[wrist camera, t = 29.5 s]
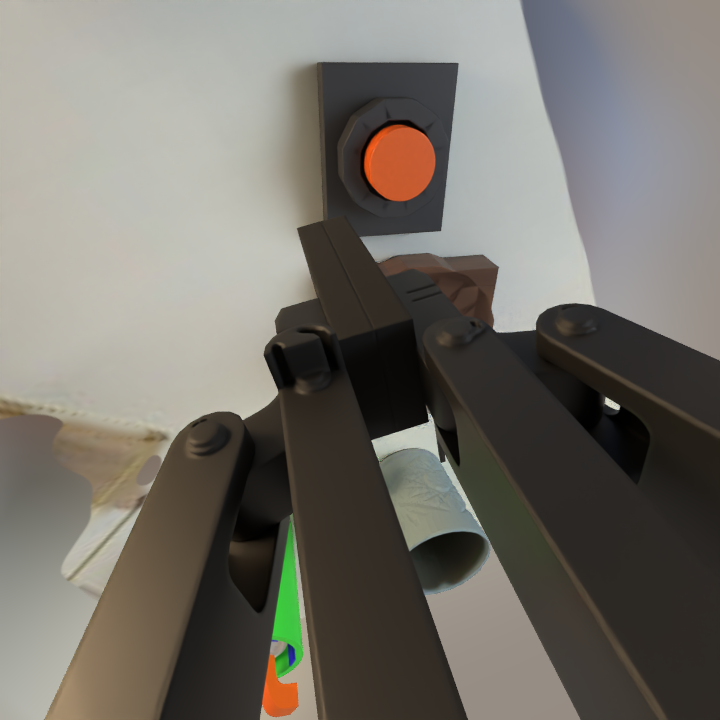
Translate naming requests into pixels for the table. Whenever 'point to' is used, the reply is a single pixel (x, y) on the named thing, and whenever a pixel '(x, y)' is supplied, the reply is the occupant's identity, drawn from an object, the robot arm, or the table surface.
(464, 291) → the bulb stand
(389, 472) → the grey embossed cup
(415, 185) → the test button
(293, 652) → the green-shelled ribbed roller
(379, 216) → the black button base
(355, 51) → the table surface
